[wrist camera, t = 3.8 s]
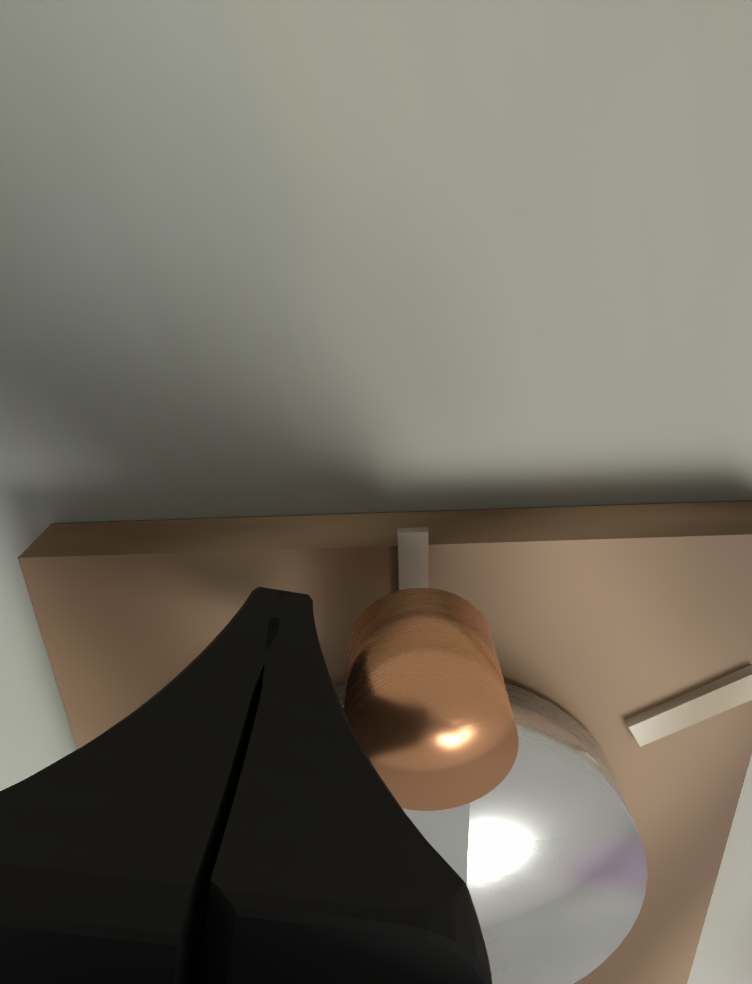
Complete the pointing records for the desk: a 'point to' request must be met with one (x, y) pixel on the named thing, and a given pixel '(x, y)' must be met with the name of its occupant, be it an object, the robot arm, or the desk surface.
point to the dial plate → (515, 631)
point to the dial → (496, 786)
